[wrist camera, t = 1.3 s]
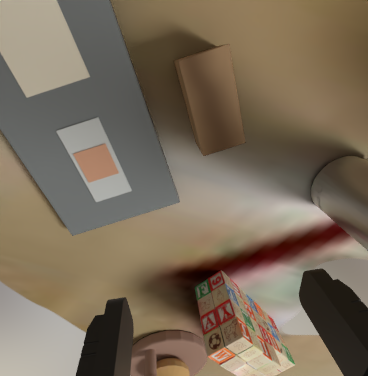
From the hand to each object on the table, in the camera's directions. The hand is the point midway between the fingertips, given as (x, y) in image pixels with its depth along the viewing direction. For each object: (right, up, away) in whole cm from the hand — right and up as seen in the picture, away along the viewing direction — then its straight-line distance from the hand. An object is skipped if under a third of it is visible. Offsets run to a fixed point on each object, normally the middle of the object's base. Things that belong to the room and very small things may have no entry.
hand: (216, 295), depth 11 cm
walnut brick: (+1, +16, +18) cm, 24 cm away
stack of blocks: (+9, -19, +38) cm, 43 cm away
